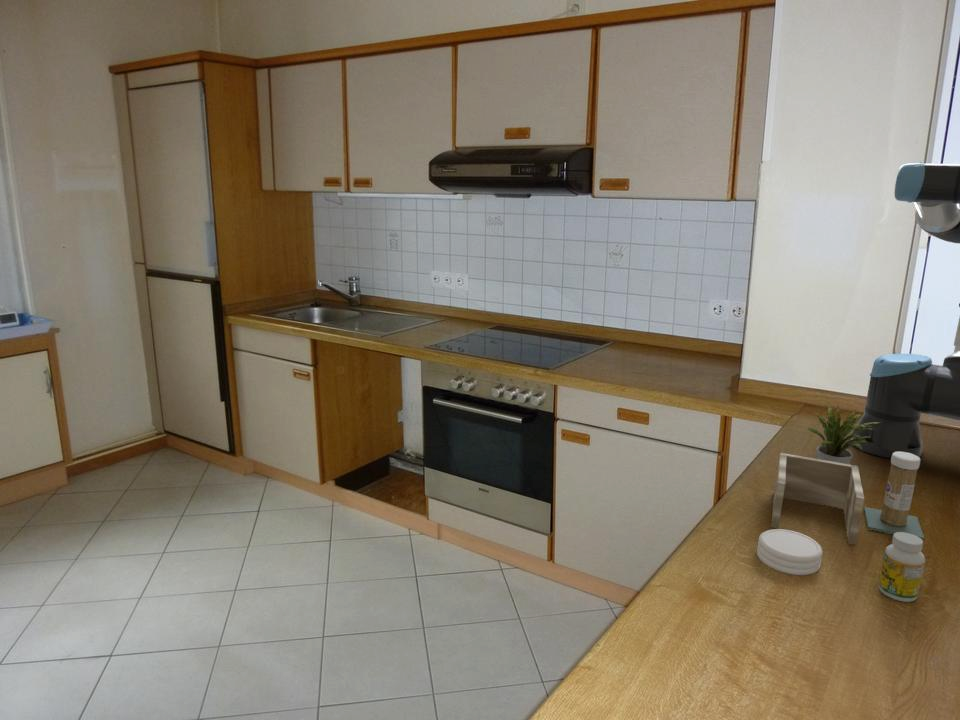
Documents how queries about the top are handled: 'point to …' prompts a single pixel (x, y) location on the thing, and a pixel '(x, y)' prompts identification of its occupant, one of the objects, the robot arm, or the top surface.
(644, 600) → the top surface
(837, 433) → the house plant
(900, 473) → the sprinkles bottle
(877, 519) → the felt mat
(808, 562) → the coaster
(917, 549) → the supplement bottle
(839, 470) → the birch box
